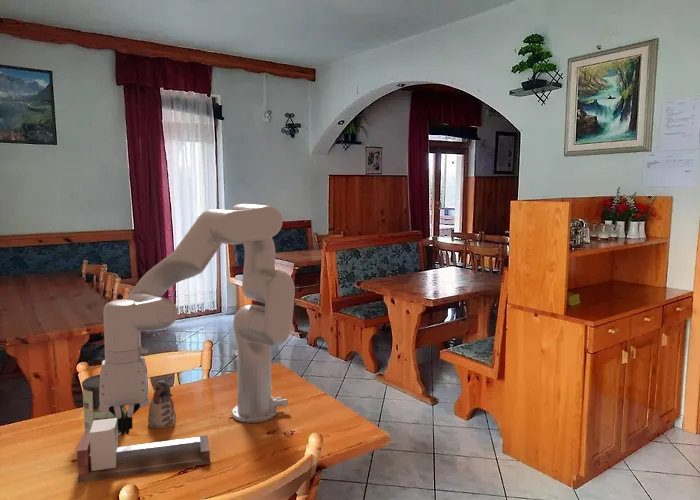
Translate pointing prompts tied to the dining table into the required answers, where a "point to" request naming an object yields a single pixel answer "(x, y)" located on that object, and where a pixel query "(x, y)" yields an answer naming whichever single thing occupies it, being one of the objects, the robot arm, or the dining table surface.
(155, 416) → the figurine
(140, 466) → the board
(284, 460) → the dining table surface
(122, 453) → the beam
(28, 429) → the dining table surface
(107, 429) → the block
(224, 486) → the dining table surface
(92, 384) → the coffee can
